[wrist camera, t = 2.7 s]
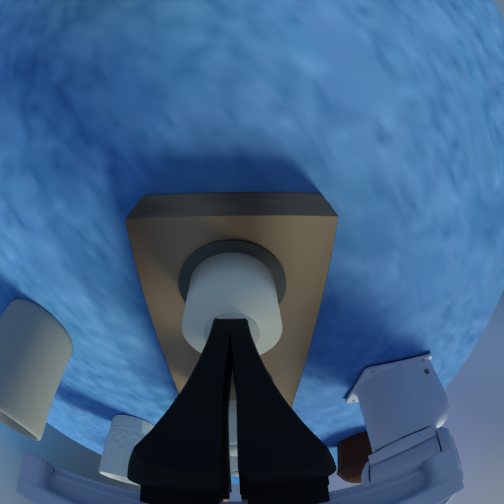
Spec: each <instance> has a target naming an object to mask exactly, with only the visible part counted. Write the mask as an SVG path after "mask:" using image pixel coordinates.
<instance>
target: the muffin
mask: <svg viewBox="0 0 504 504" xmlns="http://www.w3.org/2000/svg"><path fill="white" fill-rule="evenodd" d="M337 451H338V471H337V475H338V476H339V477H341V478H342V479H343V480H345V481H347V482H351V483H362V481H361V477H362V471H363V469H364V467H365V465H366V463H367V462H368V461H369V458H368V456H369V455H371V454H373V452H372V448H371V444H370V440H369V436H368V433H367V431H366V432H363V433H360V434H357V435H353V436H351V437H349V438H347V439H345V440H342V441H340V443H339V444H338V445H337Z"/></svg>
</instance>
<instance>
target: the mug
mask: <svg viewBox="0 0 504 504" xmlns="http://www.w3.org/2000/svg"><path fill="white" fill-rule="evenodd" d="M72 349H73V346H72V341H71V339H70V337H69V335H68V333H67V331H66V330H65V329H64V327H63V326H62V325H61V324H60V323H59V322H58V321H57V320H56V319H55V318H54V317H53V316H52V315H51V314H50V313H49V312H47V311H46V310H45V309H43V308H42V307H40V306H39V305H37V304H35V303H33V302H31V301H28V300H25V299H15V300H13V301H12V302H10V304H9V305H8V306H7V308H6V309H5V311H4V312H3V314H2V316H1V317H0V421H1V422H2V423H4V424H6V425H7V426H9V427H10V428H12V429H13V430H15V431H17V432H19V433H20V434H22V435H24V436H26V437H28V438H31V439H33V440H36V441H40V440H41V438H42V434H43V431H44V427H45V424H46V421H47V418H48V414H49V411H50V408H51V405H52V402H53V399H54V396H55V394H56V391H57V388H58V385H59V383H60V380H61V378H62V375H63V373H64V370H65V368H66V366H67V363H68V361H69V359H70V356H71V354H72Z"/></svg>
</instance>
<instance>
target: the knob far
mask: <svg viewBox="0 0 504 504" xmlns="http://www.w3.org/2000/svg"><path fill="white" fill-rule="evenodd" d="M230 472H231V476H239V473H238V460H237V456H230Z"/></svg>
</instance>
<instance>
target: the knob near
mask: <svg viewBox="0 0 504 504" xmlns="http://www.w3.org/2000/svg"><path fill="white" fill-rule="evenodd" d="M215 318H217V319H244V318H246V319H247V320H248V324H249V328H250V332H251V335H252V338H253V341H254V343H255V346H256V348H257V351H258V353H259V355H261V354H263V353H265V352H267V351H268V350H270V349H271V348H272V347H273V346H274V345H275V344H276V343H277V342H278V340H279V339H280V337H281V334H282V321H281V315H280V309H279V304H278V298H277V292H276V287H275V281H274V277H273V275H272V273H271V271H270V270H269V268H268V267H267V266H266V265H265V264H264V263H263V262H261V261H260V260H258V259H256V258H255V257H252V256H250V255H246V254H242V253H222V254H217V255H214V256H212V257H209V258H207V259H206V260H204V261H203V262H201V263H200V264H199V265H198V266H197V267H196V269H195V270H194V271H193V274H192V276H191V279H190V284H189V289H188V294H187V299H186V304H185V309H184V314H183V320H182V333H183V335H184V337H185V339H186V341H187V342H188V343H189V344H190V345H191V346H192V347H193V348H194V349H195V350H197V351H198V352H200V353H202V351H203V349H204V347H205V344H206V342H207V339H208V337H209V334H210V331H211V327H212V324H213V320H214V319H215Z"/></svg>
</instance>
